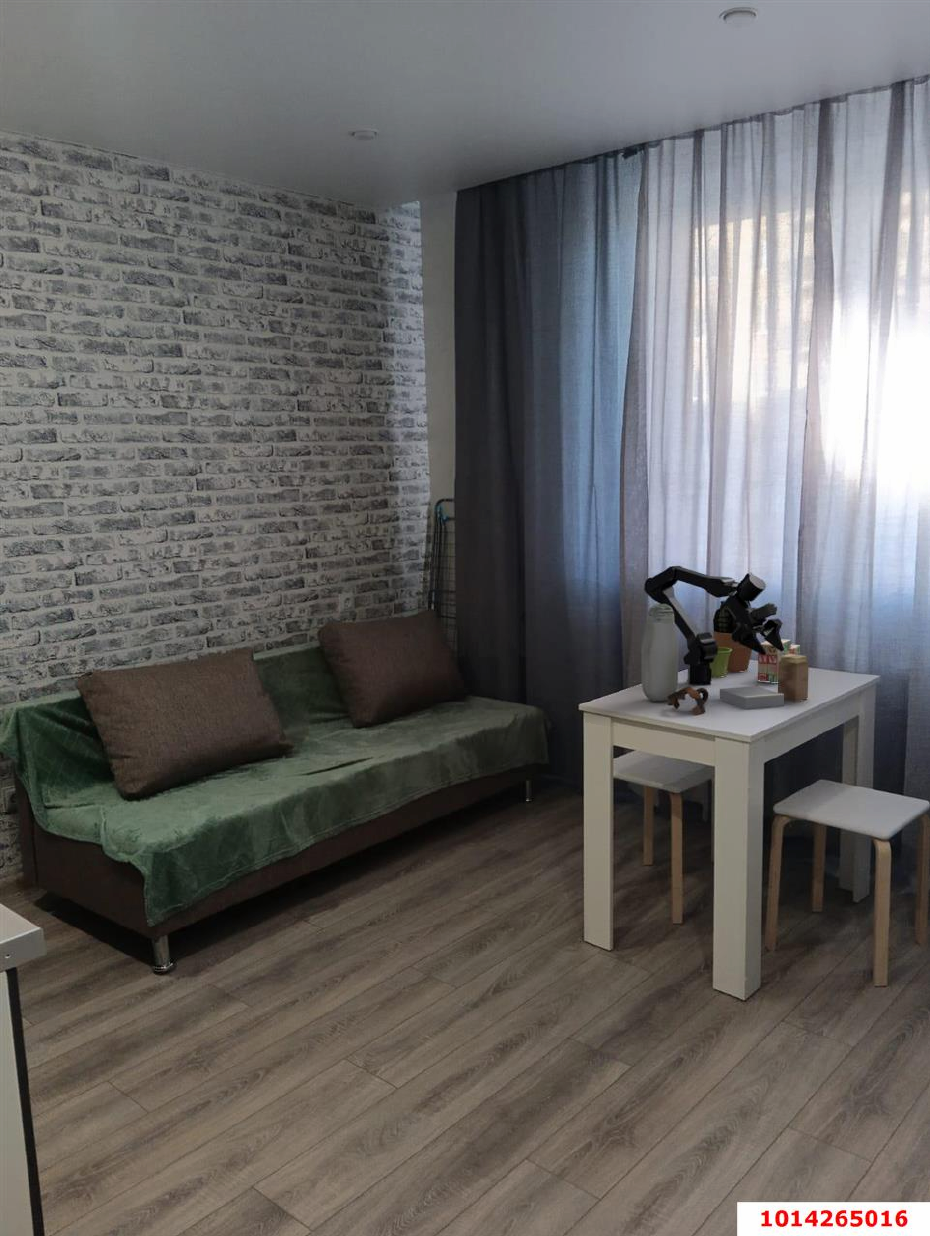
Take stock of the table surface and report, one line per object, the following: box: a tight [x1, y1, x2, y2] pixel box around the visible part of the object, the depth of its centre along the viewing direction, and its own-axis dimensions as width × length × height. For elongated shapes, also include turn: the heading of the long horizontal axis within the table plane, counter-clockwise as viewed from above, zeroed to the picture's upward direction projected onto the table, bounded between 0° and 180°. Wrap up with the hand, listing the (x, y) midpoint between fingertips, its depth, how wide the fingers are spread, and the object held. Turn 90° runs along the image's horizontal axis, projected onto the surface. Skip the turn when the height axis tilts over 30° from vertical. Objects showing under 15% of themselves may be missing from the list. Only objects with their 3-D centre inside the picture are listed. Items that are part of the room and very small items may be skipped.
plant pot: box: [709, 647, 732, 678], centre depth 337 cm, size 9×9×9 cm
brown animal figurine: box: [667, 684, 709, 716], centre depth 288 cm, size 12×10×8 cm
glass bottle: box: [640, 603, 680, 703], centre depth 300 cm, size 10×10×28 cm
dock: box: [719, 685, 785, 710], centre depth 297 cm, size 14×12×3 cm
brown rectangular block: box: [777, 654, 810, 703], centre depth 300 cm, size 6×6×12 cm
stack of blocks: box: [757, 638, 801, 682], centre depth 332 cm, size 21×6×12 cm, turn 144°
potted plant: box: [712, 601, 753, 673], centre depth 345 cm, size 14×14×25 cm
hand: (774, 652), depth 304 cm, fingers open, 9 cm apart
